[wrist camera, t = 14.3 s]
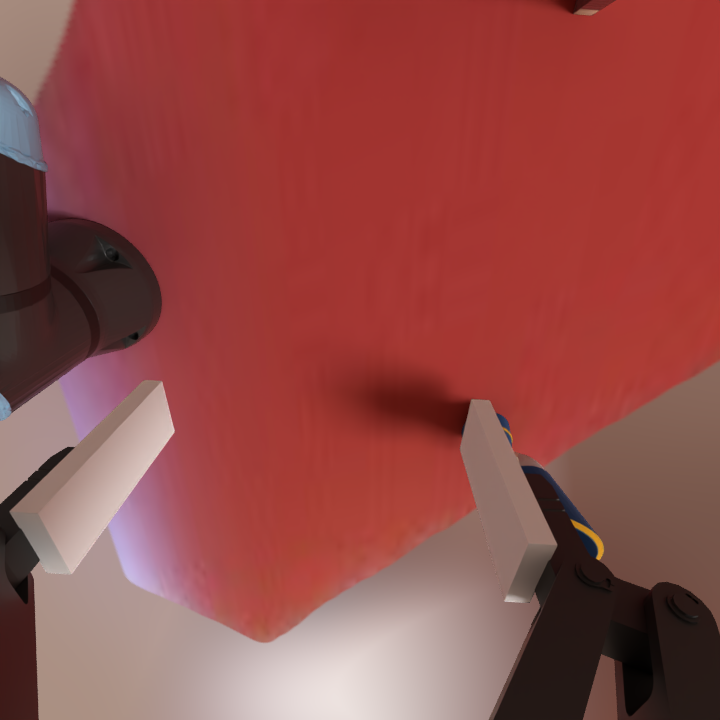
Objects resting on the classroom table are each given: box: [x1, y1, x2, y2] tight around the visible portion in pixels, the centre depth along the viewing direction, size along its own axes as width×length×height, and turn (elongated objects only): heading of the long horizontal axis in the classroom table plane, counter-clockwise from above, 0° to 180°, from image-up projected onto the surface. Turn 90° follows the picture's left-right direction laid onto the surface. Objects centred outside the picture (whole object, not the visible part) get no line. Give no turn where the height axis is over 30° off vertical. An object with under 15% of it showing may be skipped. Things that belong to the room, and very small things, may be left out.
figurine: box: [462, 413, 604, 560], centre depth 42 cm, size 13×9×20 cm
